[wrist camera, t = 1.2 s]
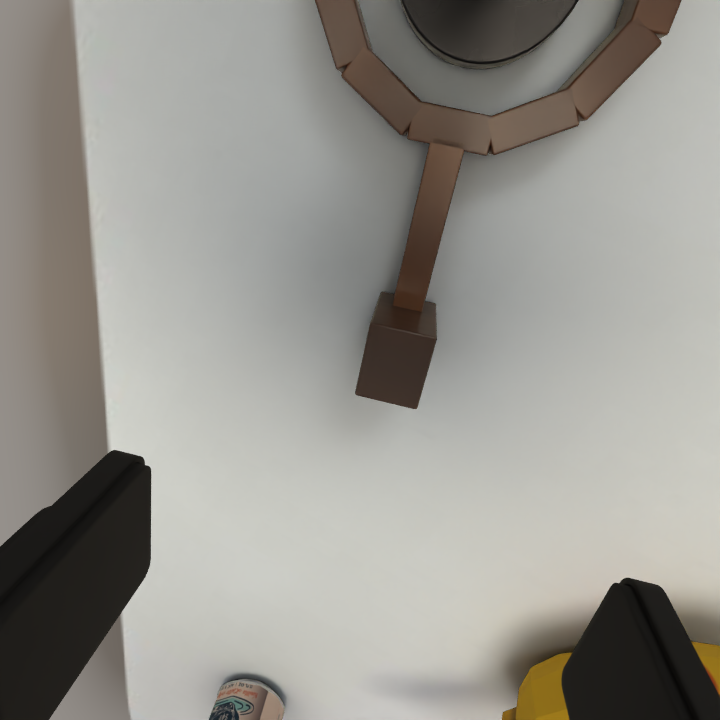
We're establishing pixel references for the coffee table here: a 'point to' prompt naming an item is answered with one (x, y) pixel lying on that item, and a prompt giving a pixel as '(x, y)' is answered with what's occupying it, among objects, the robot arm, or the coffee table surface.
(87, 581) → the robot arm
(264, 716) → the beer can
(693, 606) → the coffee table surface
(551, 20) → the black post with ball
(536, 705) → the lantern
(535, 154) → the coffee table surface
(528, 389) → the coffee table surface
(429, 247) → the brown ring with handle
